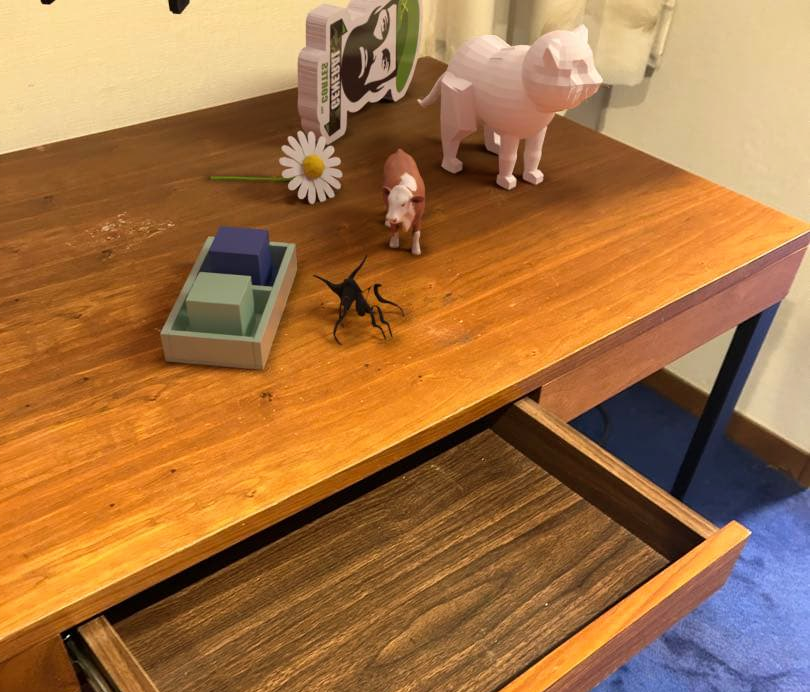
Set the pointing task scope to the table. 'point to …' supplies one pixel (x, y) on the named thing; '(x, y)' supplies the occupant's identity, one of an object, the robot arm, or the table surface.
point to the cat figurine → (512, 95)
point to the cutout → (355, 60)
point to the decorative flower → (306, 168)
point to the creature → (357, 299)
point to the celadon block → (221, 304)
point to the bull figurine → (403, 197)
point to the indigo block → (242, 253)
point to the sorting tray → (230, 347)
